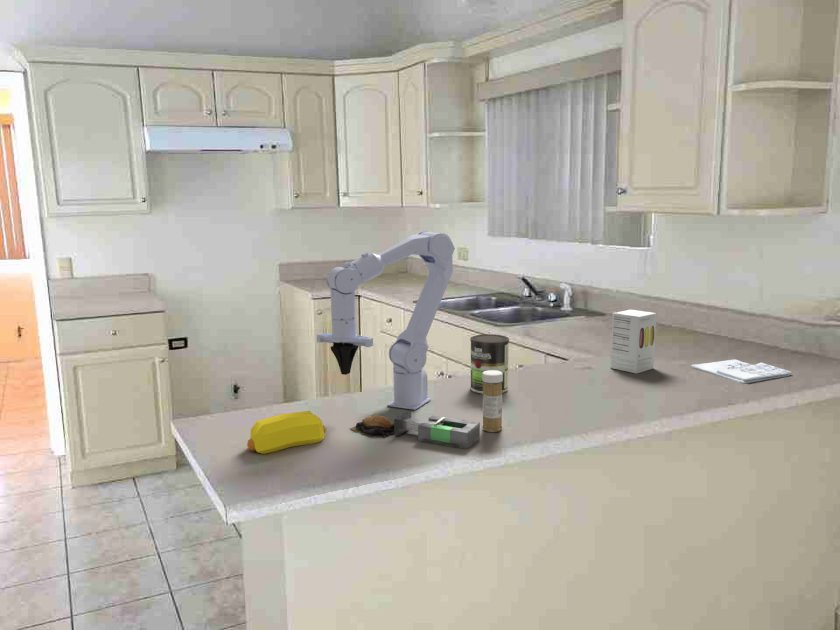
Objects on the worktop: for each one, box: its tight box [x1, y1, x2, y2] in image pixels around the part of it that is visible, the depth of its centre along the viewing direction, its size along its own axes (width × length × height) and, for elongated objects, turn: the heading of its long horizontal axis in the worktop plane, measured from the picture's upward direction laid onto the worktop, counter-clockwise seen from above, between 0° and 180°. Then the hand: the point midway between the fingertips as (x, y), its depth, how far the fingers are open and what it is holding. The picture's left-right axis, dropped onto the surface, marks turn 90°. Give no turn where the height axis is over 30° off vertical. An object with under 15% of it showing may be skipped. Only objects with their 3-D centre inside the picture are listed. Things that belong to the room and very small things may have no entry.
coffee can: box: [469, 333, 510, 395], centre depth 196 cm, size 10×10×14 cm
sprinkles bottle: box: [481, 370, 503, 433], centre depth 165 cm, size 5×5×14 cm
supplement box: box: [609, 309, 657, 375], centre depth 215 cm, size 10×9×17 cm
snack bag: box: [690, 358, 793, 384], centre depth 212 cm, size 19×20×2 cm
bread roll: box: [349, 414, 395, 439], centre depth 166 cm, size 11×8×4 cm
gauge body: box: [417, 415, 481, 450], centre depth 159 cm, size 7×12×4 cm, turn 64°
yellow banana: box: [246, 410, 327, 455], centre depth 158 cm, size 18×7×8 cm
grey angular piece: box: [393, 410, 446, 437], centre depth 162 cm, size 6×10×4 cm, turn 64°
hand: (345, 373), depth 176 cm, fingers closed
